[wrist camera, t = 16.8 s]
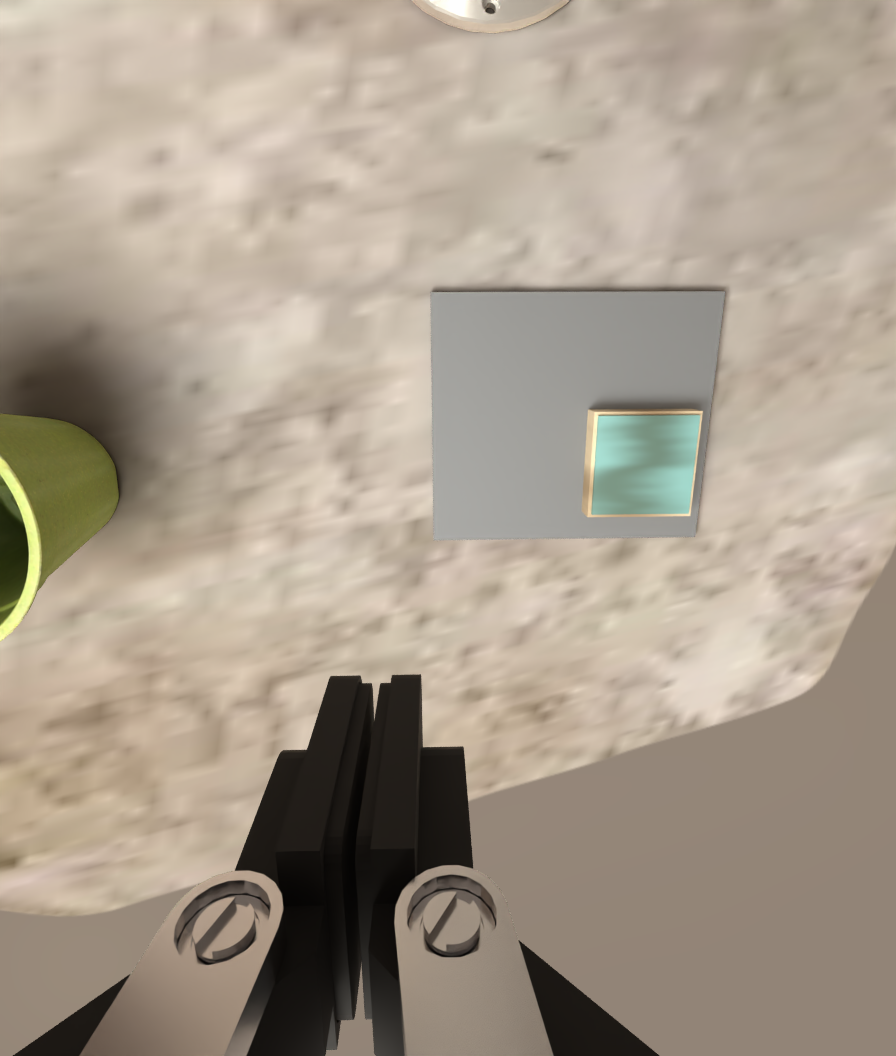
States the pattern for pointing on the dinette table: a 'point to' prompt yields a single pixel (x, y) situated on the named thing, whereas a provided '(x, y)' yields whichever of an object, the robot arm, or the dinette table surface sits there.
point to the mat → (556, 402)
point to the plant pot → (46, 504)
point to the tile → (640, 462)
